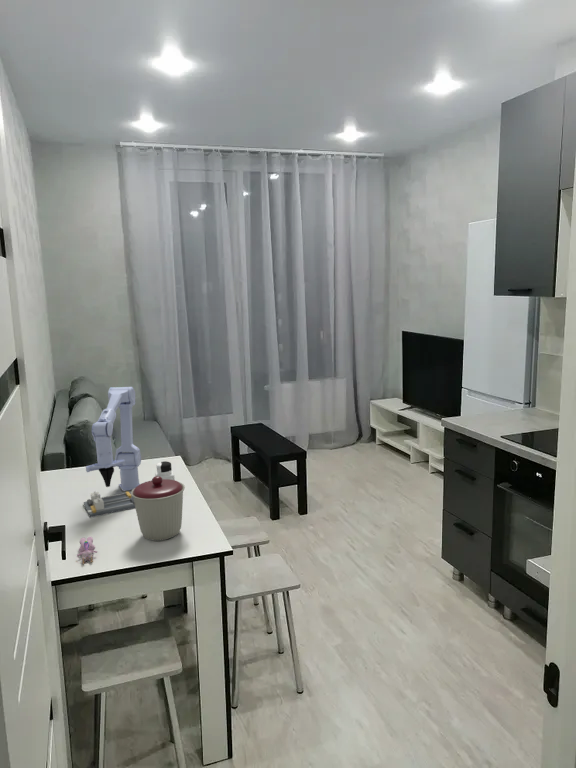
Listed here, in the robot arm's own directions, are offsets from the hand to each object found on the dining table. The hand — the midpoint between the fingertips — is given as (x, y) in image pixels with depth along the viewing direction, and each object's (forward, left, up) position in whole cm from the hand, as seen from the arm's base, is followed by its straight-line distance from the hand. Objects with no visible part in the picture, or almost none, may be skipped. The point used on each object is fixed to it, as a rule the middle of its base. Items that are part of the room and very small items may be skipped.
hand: (107, 486), depth 227 cm
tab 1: (-7, -4, -8) cm, 11 cm away
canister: (+34, +11, -10) cm, 37 cm away
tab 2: (+1, -4, -8) cm, 9 cm away
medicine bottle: (-9, +25, -10) cm, 28 cm away
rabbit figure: (+36, -14, -10) cm, 40 cm away
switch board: (-3, +2, -9) cm, 10 cm away
